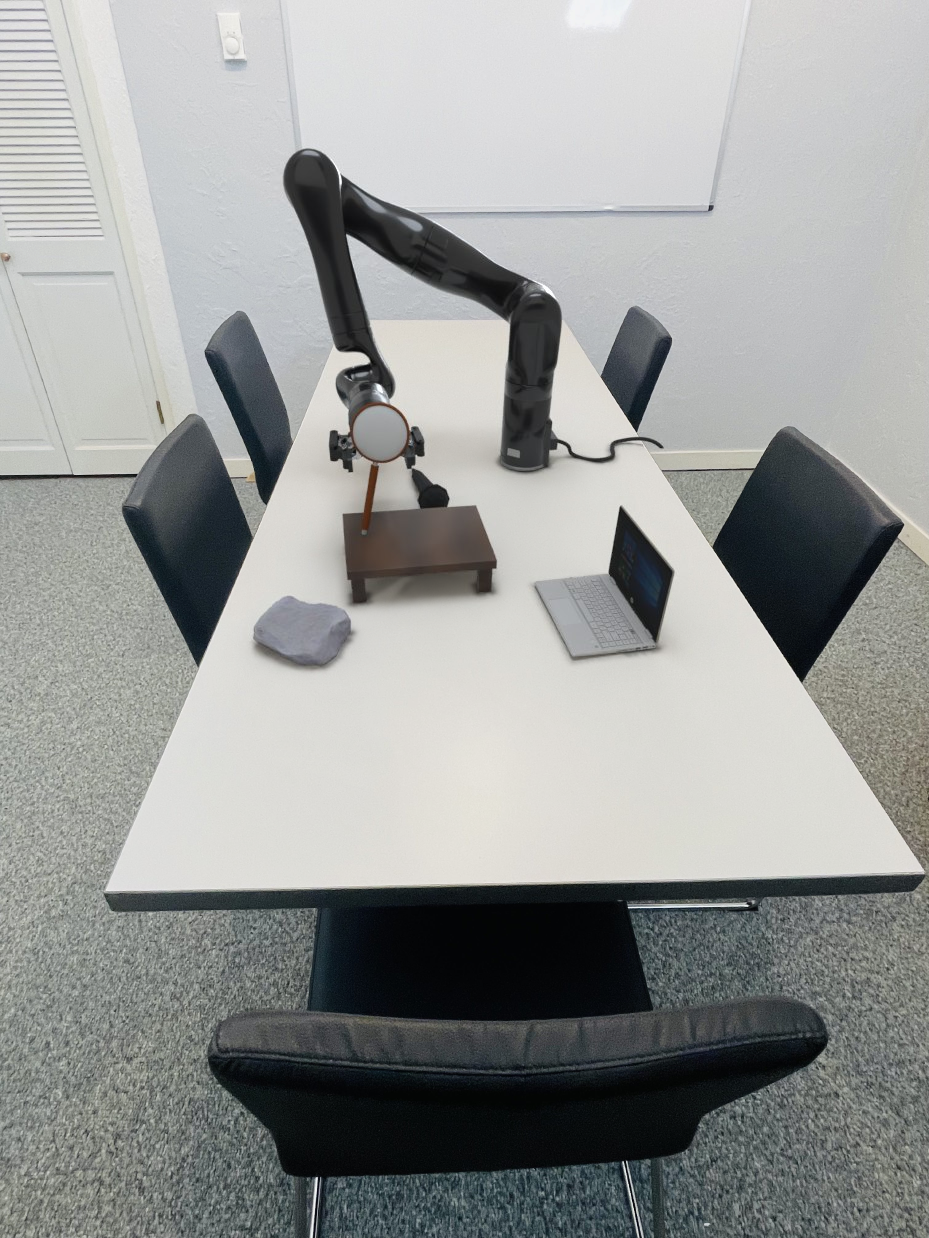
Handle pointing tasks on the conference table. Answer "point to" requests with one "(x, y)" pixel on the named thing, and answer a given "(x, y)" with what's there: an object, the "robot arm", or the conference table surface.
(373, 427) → the magnifying glass
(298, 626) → the stone block
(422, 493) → the microphone
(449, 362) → the conference table surface
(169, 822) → the conference table surface
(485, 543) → the walnut table
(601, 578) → the laptop
